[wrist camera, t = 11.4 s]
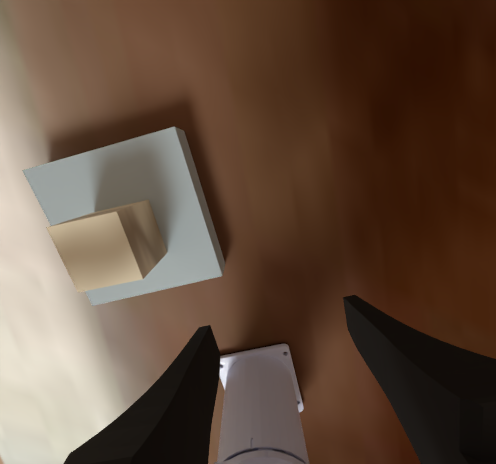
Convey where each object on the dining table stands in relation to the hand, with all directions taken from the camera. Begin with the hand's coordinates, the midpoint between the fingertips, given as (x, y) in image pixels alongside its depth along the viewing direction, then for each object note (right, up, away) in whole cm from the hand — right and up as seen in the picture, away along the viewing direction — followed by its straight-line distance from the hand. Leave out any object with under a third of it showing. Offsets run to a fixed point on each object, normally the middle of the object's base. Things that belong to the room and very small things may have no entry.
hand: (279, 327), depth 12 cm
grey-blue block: (-11, +6, +9) cm, 16 cm away
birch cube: (-11, +5, +6) cm, 14 cm away
